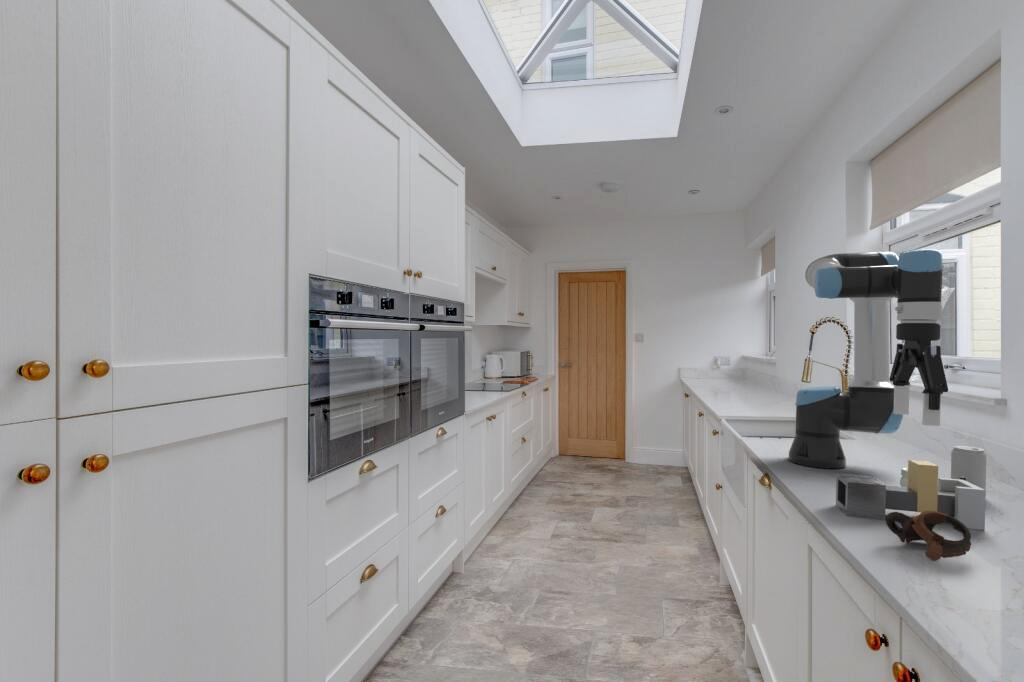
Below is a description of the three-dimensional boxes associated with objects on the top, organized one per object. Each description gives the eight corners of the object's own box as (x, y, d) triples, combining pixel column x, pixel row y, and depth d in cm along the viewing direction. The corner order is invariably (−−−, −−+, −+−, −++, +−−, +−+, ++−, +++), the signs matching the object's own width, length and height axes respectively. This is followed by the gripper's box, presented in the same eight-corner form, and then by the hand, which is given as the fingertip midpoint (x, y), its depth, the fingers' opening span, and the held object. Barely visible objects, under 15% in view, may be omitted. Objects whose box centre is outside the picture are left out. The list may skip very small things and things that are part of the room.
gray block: (835, 505, 116) (836, 473, 116) (871, 508, 114) (872, 476, 114) (847, 515, 109) (847, 481, 109) (885, 519, 107) (886, 485, 107)
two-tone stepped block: (863, 501, 114) (864, 456, 114) (955, 510, 109) (956, 463, 109) (871, 507, 109) (872, 461, 109) (967, 517, 105) (968, 468, 104)
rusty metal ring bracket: (959, 550, 93) (977, 520, 89) (957, 589, 87) (976, 558, 83) (881, 519, 100) (894, 490, 96) (874, 554, 94) (888, 523, 90)
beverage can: (989, 502, 120) (990, 451, 120) (953, 498, 123) (955, 448, 123) (981, 495, 126) (982, 446, 126) (947, 491, 129) (948, 443, 129)
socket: (937, 514, 111) (938, 477, 111) (962, 516, 110) (963, 479, 110) (957, 527, 104) (958, 487, 104) (984, 530, 102) (985, 490, 102)
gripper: (874, 322, 124) (872, 409, 125) (926, 321, 100) (923, 429, 101) (911, 322, 122) (908, 410, 123) (972, 322, 98) (969, 431, 99)
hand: (915, 419), depth 112 cm, fingers open, 13 cm apart
